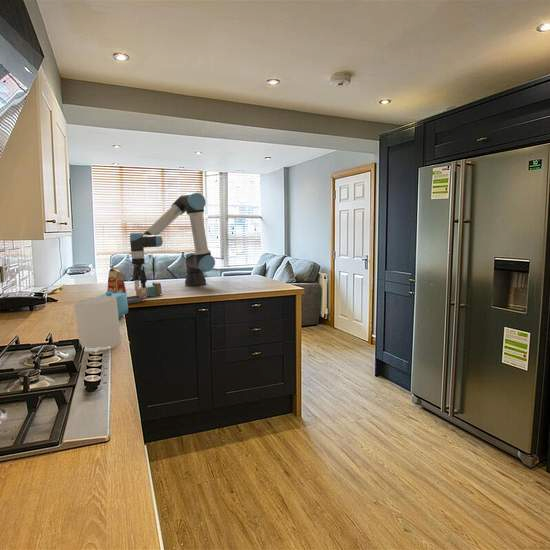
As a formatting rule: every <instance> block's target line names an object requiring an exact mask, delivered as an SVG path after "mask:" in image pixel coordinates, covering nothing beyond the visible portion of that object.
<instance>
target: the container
mask: <svg viewBox="0 0 550 550" xmlns="http://www.w3.org/2000/svg"><path fill="white" fill-rule="evenodd" d="M74 307H75V308H74V309H75V316H76V324H77V325H76V326H77V332H78V333H77V334H78V340H79V344H80V343H81V345H82V346H84V347H87V348H97V347H108V346H110V347H111V348H112V349H115V348H116V347H119V346H120V345H121V344H122V340H121V339H122V338H121V329H120V320H119V319H120V318H118V308H117V299H116V297H112V296H101V297H97V296H93V297H86V298H82V299H78V300H75V302H74Z"/></svg>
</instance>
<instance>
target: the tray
mask: <svg viewBox="0 0 550 550" xmlns="http://www.w3.org/2000/svg"><path fill="white" fill-rule="evenodd" d="M142 300H144V301H145V297H142V296H140V295H131V296H127V303H128V305H132V304H137V303H136V302H137V301H142Z"/></svg>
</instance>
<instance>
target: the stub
mask: <svg viewBox="0 0 550 550" xmlns="http://www.w3.org/2000/svg"><path fill="white" fill-rule="evenodd" d="M135 294H136V295H140V296H142V297H144V298H146V297H145V296H147V291H146V293H141V286H139V287H138V288H136V291H135ZM136 295H135V296H136Z"/></svg>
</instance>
